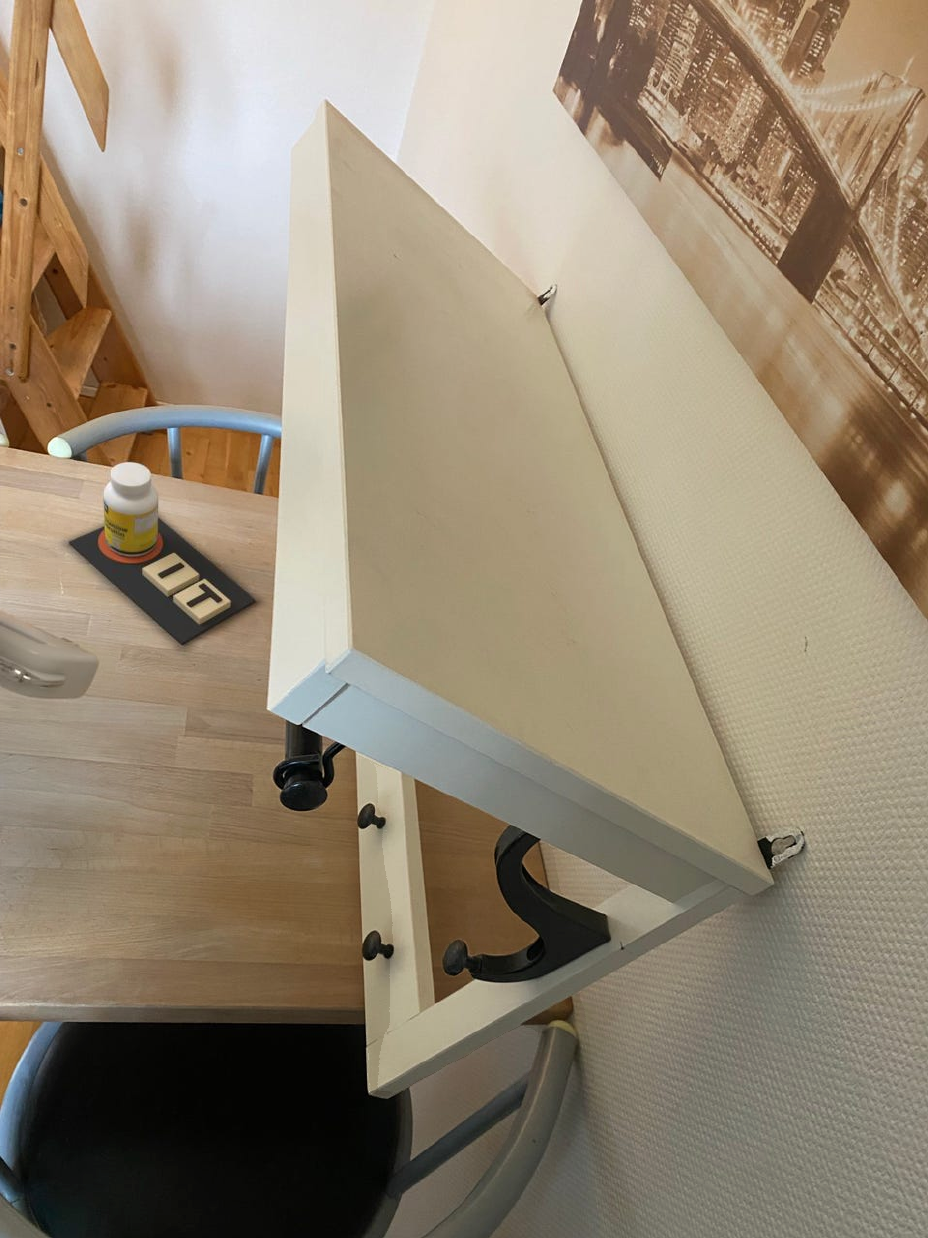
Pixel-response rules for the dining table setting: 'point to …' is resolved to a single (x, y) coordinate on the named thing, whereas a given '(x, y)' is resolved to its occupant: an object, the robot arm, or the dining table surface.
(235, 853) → the dining table surface
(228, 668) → the dining table surface
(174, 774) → the dining table surface
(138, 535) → the pill bottle
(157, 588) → the letter mat
